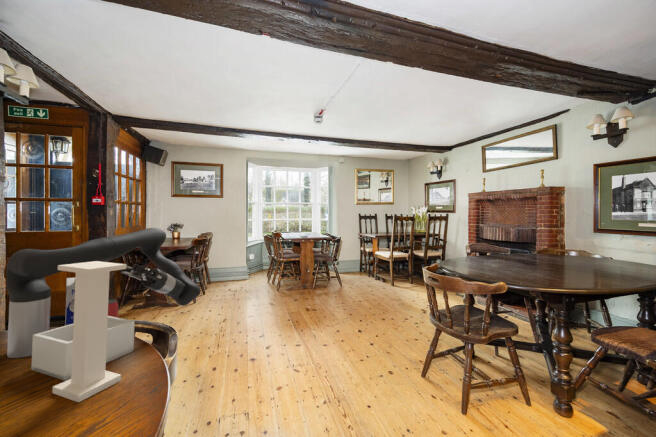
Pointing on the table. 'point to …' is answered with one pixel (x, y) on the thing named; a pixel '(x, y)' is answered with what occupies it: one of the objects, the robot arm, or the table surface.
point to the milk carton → (70, 301)
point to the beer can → (113, 308)
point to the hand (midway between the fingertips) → (124, 265)
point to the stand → (89, 331)
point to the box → (57, 346)
